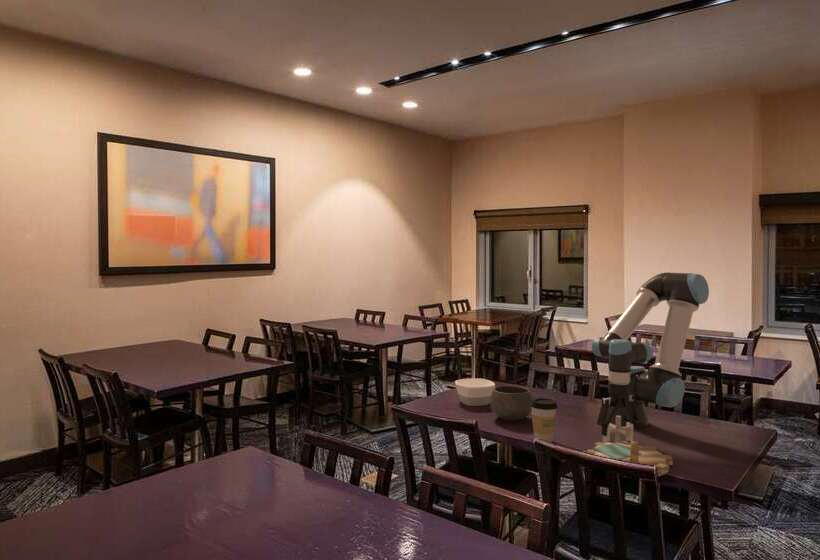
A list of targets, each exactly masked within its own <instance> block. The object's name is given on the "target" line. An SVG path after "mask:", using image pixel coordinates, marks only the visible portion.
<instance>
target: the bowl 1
mask: <svg viewBox="0 0 820 560" xmlns="http://www.w3.org/2000/svg"><path fill="white" fill-rule="evenodd" d="M454 385H455V388H456V391H457V394H458V396H459V400H460V402H461V403H462V404H463V405H465V406H468V407H481V406H487V405H490V397H491V394H492V391H493V390H494V388H495V387H496V384H495V382H494V381H493V380H492V381H491V380H489V379H486V378H473V377H472V378H462V379H457V380H455V381H454Z"/></svg>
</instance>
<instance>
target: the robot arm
mask: <svg viewBox="0 0 820 560" xmlns="http://www.w3.org/2000/svg"><path fill="white" fill-rule="evenodd" d="M709 295H710V290H709V284H708V280H707V279H706V278H705V276H704V275H702V274H699V273H692V272H689V273H688V272H661V273H658V274H656V275H654V276H652V277H651V278H650V279H648V280H646V281H645V282H644V283H643V284H641V286H640V287H639V288H638V289H637V291H636V296H635V298H634V299H633V300H632V301H631V302H630V304H628V306H627V307H626V309H625V310H624V311H623V313H622V314H621V315H620V317H619V318H618V319H617V320H616V322H614V324H612V327H611V328H610V329H609V330H608V331H607V332H606V334H605V335H604V337H603V336H599V337H596V338H594V339H593V340H592V343H591V351H592V353H593V354H594V355H595V356H597V357H601V358H604V359H608V384H607V385H608V387H607V391H608V397H606V398H605V397H602V398H601V406H600V410H599V413H598V418H597V422H596V424H597V425H598V426H600V427H601V436H602V443H611V442H610V441H611V440H610V439H611V438H610V436H611V433H610V427H608V426H609V423H611V424H613V425H615V426H616V416H621V427H626V426H630V427H631V429H632V430H631V431H628V432H629V435H628V436H625V441H628V442H629V443H630V442H631V441H634V432H635V429H641V428H646V427H648V426H649V417H648V414H647V411H646V407H645V403H648V404H649V403H650V404H652V405H656V406H660V407H667V408H674V407H675V406H677V405H678V404H680V403H681V401H682V399H683V397H684V395H685V392H686V391H685V390H686V387H685V385H686V384H685V382H684V380H683V379H682V374H681V372H680V370H679V368H680V364H681V361H682V357H683V353H684V350H685V345H686V341H687V337H688V335H689V334H688V333H689V329H690V325H691V322H692V317H693V314H694V312H697V311H699V307H700V305H703V304H705V303H706V302H708V298H709ZM663 301H666V304H667V305H668V307H669V309H668V312H667V316H666V320H665V324H664V328H663V330H662V334H661V340H660V342H659V347H658V351H657V355H656V358H655V361H654V364H652V365H650V366H649V367H648V371H646V367H644V366H640V365H639V366H638V365H637V364H644V363H646V362H649V361H651V359H652V358H653V356H654V355H653V354H654V353H653V348H652V347H651V345H650V344H649V343H647V342H643V341H642V342H641V341H639V342H631V340H630V337H631V335H632V334H633V333H634V332H635V330H636V329H638V326H639V325H640V324H641V323H642V321H643V320H644V318H645V317H647V315H648V314H649V313H650V311H651V310H652V309H653V308H655V307H657V306H658V305H659V304H660V303H661V302H663ZM628 339H629V340H628Z"/></svg>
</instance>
